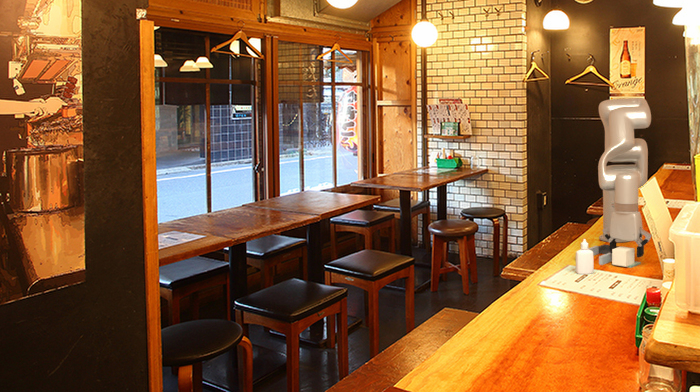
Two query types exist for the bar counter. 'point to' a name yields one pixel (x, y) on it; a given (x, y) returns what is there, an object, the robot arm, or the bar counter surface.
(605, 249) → the tray
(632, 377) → the bar counter surface
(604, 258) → the channel
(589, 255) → the eye dropper bottle
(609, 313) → the bar counter surface
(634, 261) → the green coaster
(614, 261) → the cream block
